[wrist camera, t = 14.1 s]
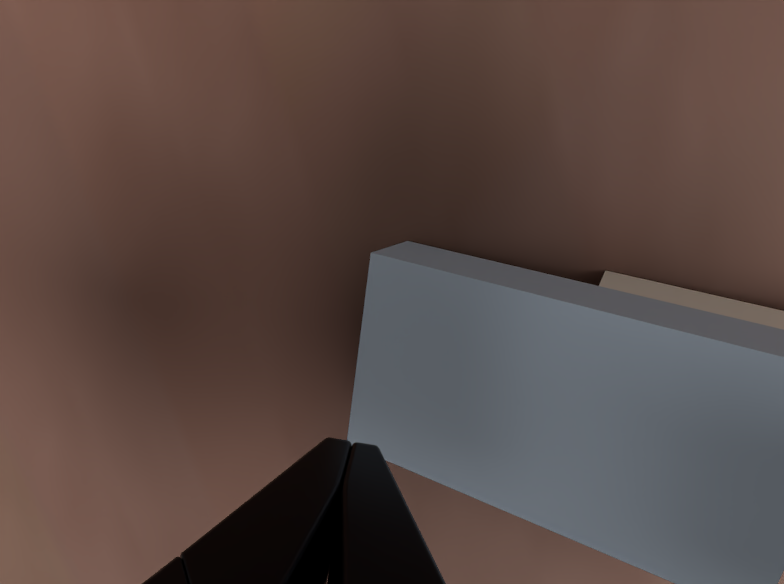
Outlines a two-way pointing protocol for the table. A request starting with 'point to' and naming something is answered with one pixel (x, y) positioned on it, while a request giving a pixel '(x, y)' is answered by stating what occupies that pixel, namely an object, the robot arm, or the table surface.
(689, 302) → the domino
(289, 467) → the robot arm
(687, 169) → the table surface
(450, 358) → the domino
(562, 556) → the table surface
